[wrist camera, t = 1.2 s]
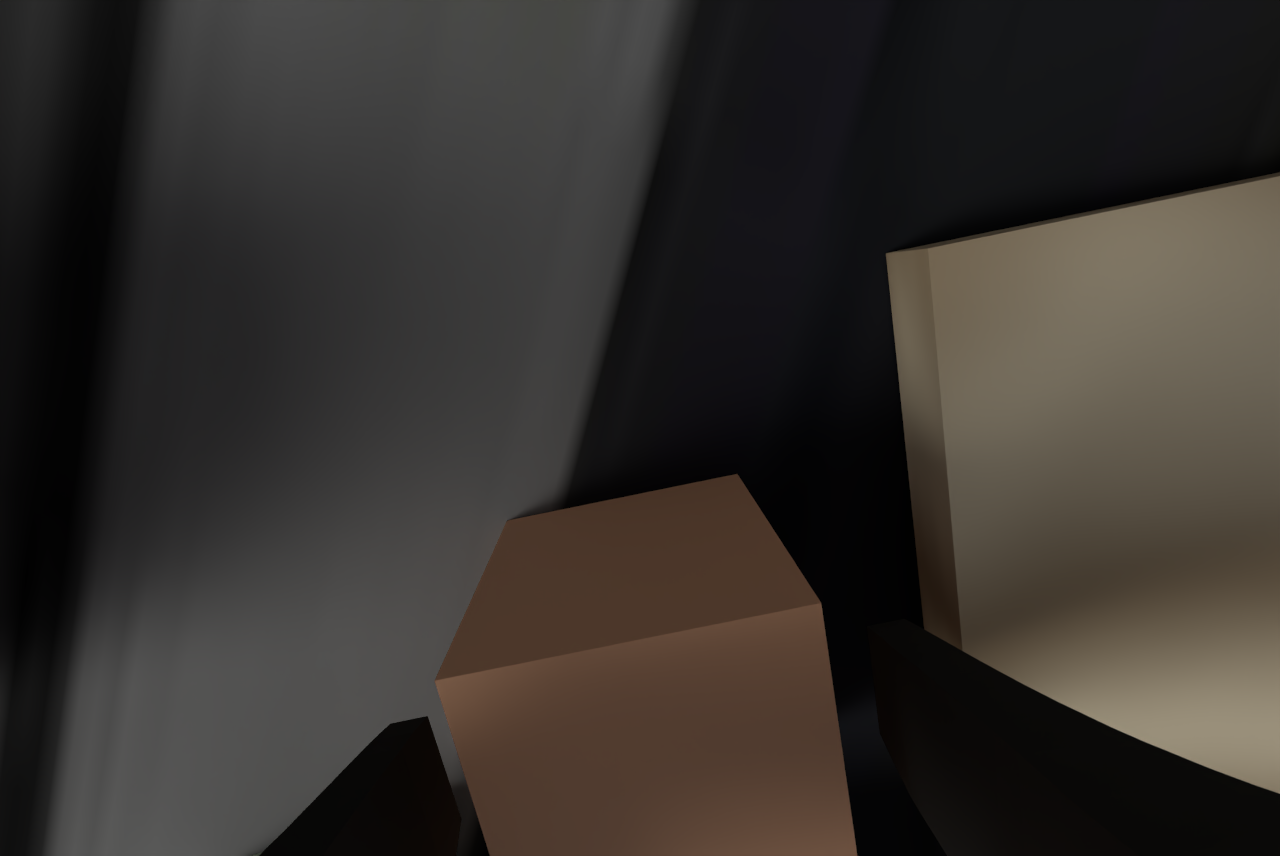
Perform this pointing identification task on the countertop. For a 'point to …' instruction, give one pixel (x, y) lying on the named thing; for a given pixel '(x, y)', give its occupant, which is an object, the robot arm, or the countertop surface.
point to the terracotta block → (648, 686)
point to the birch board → (1107, 462)
